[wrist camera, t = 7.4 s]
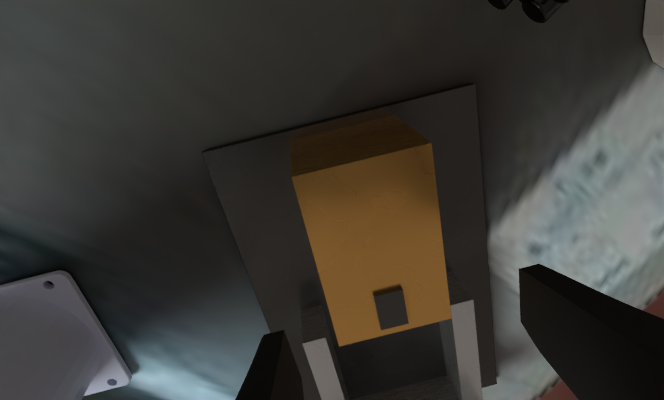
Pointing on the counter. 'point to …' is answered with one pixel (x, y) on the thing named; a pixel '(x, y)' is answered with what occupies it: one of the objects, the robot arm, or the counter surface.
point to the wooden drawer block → (373, 226)
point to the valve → (533, 8)
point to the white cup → (654, 30)
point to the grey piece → (303, 278)
